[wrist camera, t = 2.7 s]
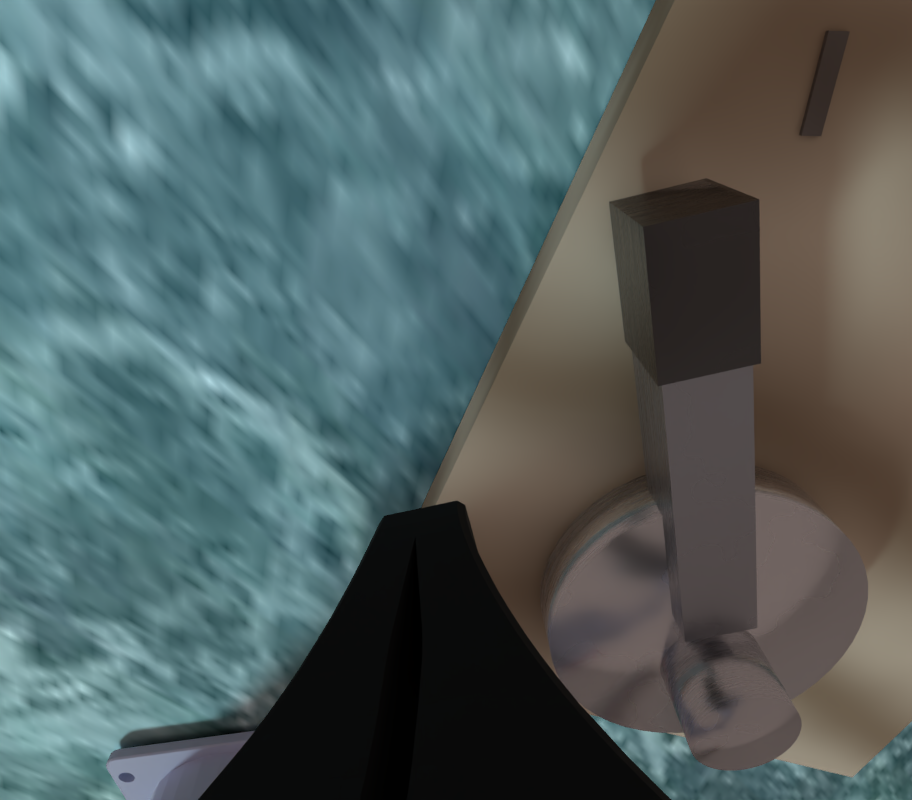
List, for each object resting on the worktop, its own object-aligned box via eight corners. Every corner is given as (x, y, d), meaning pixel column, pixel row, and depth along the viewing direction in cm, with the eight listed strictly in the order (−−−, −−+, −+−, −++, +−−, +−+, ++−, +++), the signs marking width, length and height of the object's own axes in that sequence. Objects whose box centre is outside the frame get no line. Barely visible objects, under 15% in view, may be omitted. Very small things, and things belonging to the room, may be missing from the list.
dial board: (833, 745, 24) (854, 780, 23) (365, 628, 20) (361, 663, 19) (1342, 237, 16) (1416, 251, 14) (713, -124, 12) (745, -145, 11)
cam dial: (826, 655, 19) (908, 775, 16) (563, 706, 20) (590, 832, 17) (854, 136, 13) (1006, 162, 9) (454, 233, 13) (465, 290, 10)
